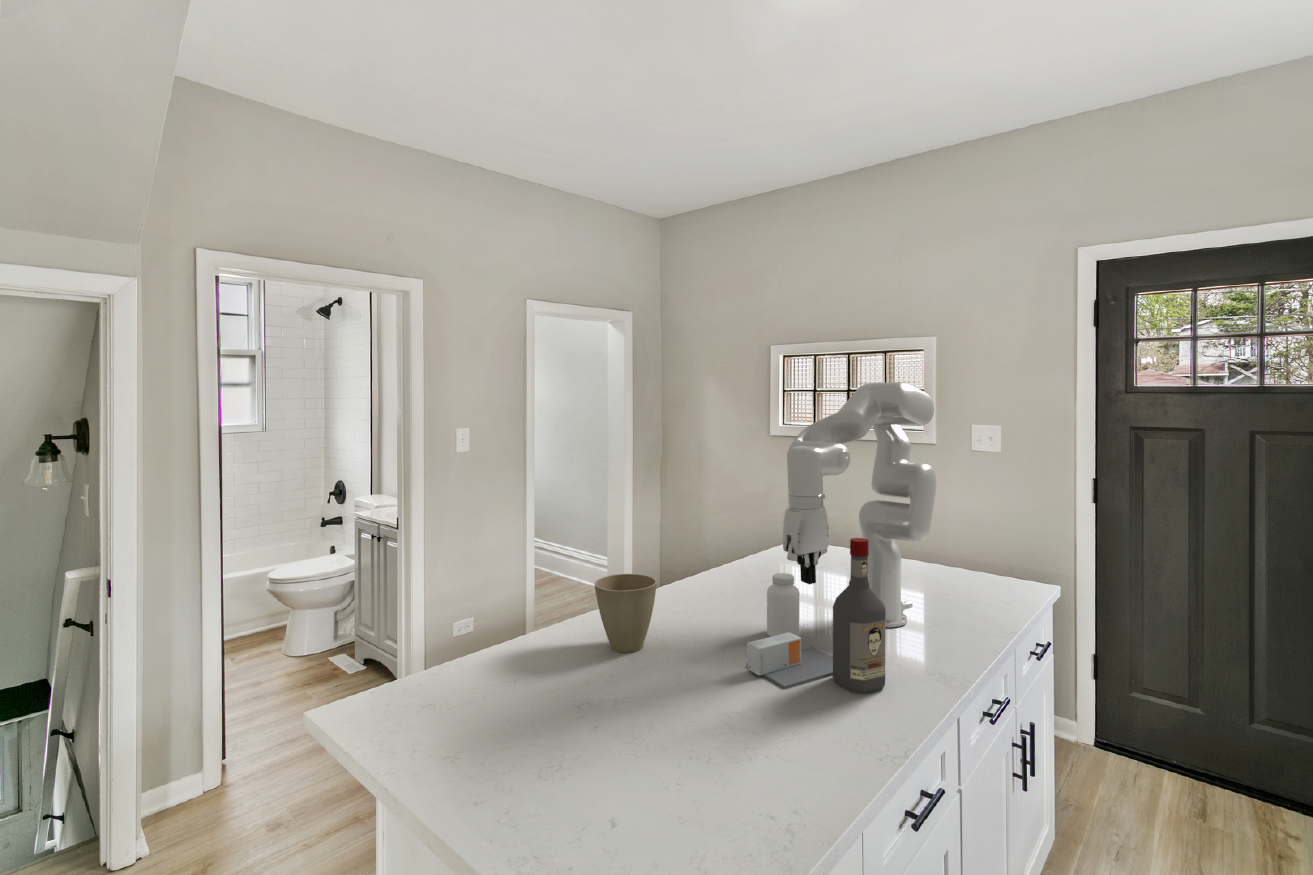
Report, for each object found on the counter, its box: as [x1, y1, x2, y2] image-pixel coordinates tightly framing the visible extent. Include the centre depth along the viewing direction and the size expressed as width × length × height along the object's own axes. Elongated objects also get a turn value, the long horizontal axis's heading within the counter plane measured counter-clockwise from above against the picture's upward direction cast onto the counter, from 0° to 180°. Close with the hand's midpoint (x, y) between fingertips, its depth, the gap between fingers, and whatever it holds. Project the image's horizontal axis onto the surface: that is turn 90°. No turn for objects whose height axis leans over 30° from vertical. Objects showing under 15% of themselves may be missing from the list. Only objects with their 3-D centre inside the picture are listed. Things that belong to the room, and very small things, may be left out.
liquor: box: [832, 537, 887, 694], centre depth 131 cm, size 9×9×30 cm
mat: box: [746, 646, 833, 690], centre depth 140 cm, size 19×13×1 cm
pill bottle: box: [766, 572, 800, 637], centre depth 159 cm, size 8×8×15 cm
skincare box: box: [746, 632, 802, 677], centre depth 139 cm, size 6×4×12 cm
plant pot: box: [594, 573, 658, 653], centre depth 153 cm, size 15×15×16 cm
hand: (808, 582), depth 143 cm, fingers closed
